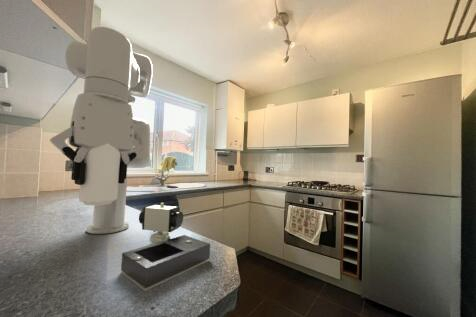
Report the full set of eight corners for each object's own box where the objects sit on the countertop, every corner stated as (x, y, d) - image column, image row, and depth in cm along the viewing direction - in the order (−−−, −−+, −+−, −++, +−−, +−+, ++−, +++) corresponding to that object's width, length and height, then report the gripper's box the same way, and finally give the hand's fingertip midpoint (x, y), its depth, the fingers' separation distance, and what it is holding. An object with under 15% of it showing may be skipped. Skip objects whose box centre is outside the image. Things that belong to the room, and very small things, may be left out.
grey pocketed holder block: (120, 272, 41) (122, 251, 41) (183, 249, 54) (184, 234, 54) (145, 291, 35) (146, 267, 35) (209, 260, 48) (210, 243, 48)
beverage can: (69, 205, 36) (74, 140, 37) (97, 199, 42) (101, 144, 43) (99, 207, 35) (104, 141, 36) (123, 201, 41) (128, 145, 42)
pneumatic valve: (174, 250, 53) (176, 205, 54) (136, 246, 55) (139, 203, 56) (183, 243, 58) (185, 202, 59) (149, 239, 61) (151, 200, 62)
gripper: (140, 108, 49) (135, 181, 48) (44, 82, 35) (34, 183, 34) (157, 103, 44) (152, 183, 43) (54, 71, 30) (43, 187, 29)
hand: (100, 182), depth 39 cm, fingers closed on beverage can, 6 cm apart
